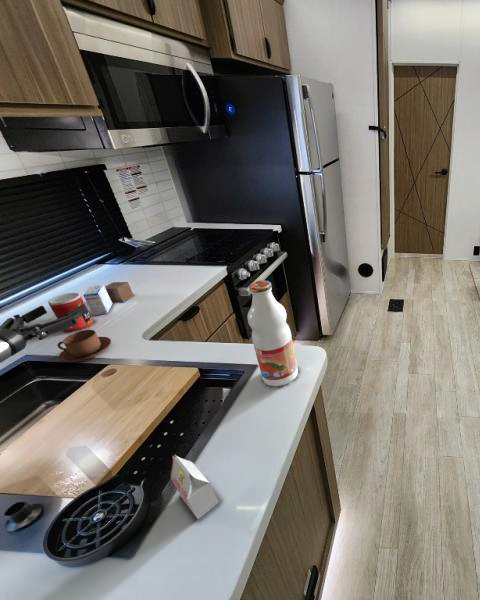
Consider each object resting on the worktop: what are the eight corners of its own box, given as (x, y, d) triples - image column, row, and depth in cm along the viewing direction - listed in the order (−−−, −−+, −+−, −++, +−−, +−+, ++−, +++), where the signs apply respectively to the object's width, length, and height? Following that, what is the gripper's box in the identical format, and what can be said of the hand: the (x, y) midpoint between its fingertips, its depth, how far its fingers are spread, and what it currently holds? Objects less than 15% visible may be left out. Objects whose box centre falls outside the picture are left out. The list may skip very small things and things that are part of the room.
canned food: (95, 325, 114) (80, 297, 109) (64, 334, 110) (47, 306, 104) (93, 317, 119) (79, 290, 114) (63, 325, 115) (47, 297, 109)
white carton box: (201, 481, 64) (184, 447, 59) (218, 502, 61) (202, 467, 56) (181, 496, 62) (162, 462, 57) (198, 519, 58) (179, 484, 53)
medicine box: (99, 306, 126) (88, 286, 122) (113, 304, 128) (103, 284, 124) (93, 316, 120) (82, 295, 116) (108, 313, 122) (98, 292, 118)
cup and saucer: (59, 371, 93) (48, 353, 90) (65, 350, 102) (55, 334, 99) (112, 355, 99) (103, 339, 96) (114, 337, 108) (106, 321, 105)
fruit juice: (305, 373, 92) (288, 282, 79) (276, 392, 85) (252, 297, 72) (285, 360, 97) (266, 272, 84) (255, 377, 90) (230, 285, 77)
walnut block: (107, 302, 129) (101, 288, 127) (118, 295, 135) (112, 282, 132) (123, 302, 130) (116, 288, 127) (133, 295, 135) (127, 281, 132)
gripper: (-40, 358, 92) (32, 319, 111) (51, 356, 93) (107, 317, 112) (-58, 336, 89) (20, 299, 108) (37, 334, 89) (98, 298, 108)
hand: (65, 308), depth 110 cm, fingers open, 13 cm apart
